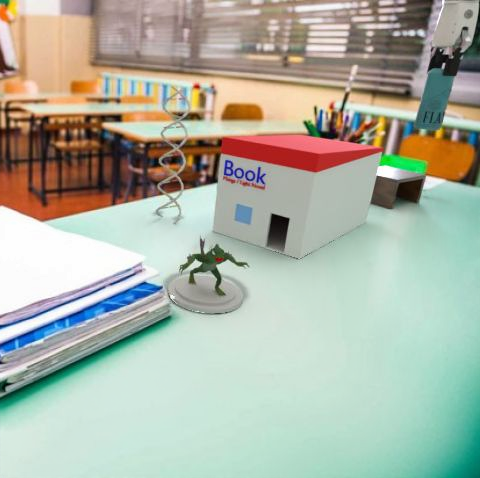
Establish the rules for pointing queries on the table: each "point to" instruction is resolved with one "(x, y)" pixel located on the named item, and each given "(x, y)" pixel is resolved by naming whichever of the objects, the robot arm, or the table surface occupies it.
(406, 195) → the shelf
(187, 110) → the dna model
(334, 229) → the bookstore
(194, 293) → the monster figurine
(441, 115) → the beverage bottle
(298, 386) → the table surface
